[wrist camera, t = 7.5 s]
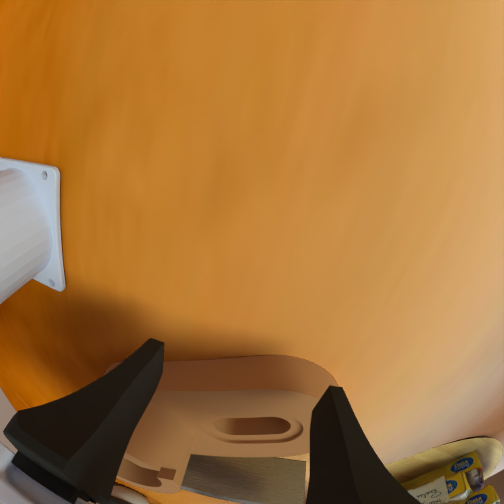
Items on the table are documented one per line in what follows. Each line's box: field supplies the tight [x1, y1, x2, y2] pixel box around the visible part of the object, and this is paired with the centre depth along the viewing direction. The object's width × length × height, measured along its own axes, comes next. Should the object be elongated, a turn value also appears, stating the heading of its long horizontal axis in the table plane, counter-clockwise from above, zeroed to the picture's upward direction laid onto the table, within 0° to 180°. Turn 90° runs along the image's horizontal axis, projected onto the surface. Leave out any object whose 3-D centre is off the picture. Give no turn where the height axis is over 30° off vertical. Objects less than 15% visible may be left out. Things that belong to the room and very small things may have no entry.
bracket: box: [103, 355, 338, 494], centre depth 16 cm, size 18×8×7 cm, turn 106°
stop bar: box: [180, 454, 306, 504], centre depth 20 cm, size 17×4×5 cm, turn 77°
